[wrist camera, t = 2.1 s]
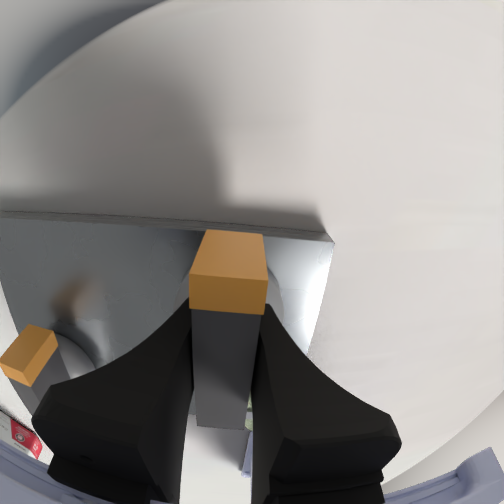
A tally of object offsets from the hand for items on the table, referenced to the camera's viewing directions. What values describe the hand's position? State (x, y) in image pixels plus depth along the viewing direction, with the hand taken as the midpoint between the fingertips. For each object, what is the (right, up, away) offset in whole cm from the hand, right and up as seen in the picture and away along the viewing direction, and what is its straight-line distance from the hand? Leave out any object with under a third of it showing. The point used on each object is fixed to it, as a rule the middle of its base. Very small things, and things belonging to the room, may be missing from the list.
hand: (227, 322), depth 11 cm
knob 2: (0, +1, +1) cm, 2 cm away
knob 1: (-11, -4, +3) cm, 12 cm away
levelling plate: (-5, -1, +4) cm, 6 cm away
